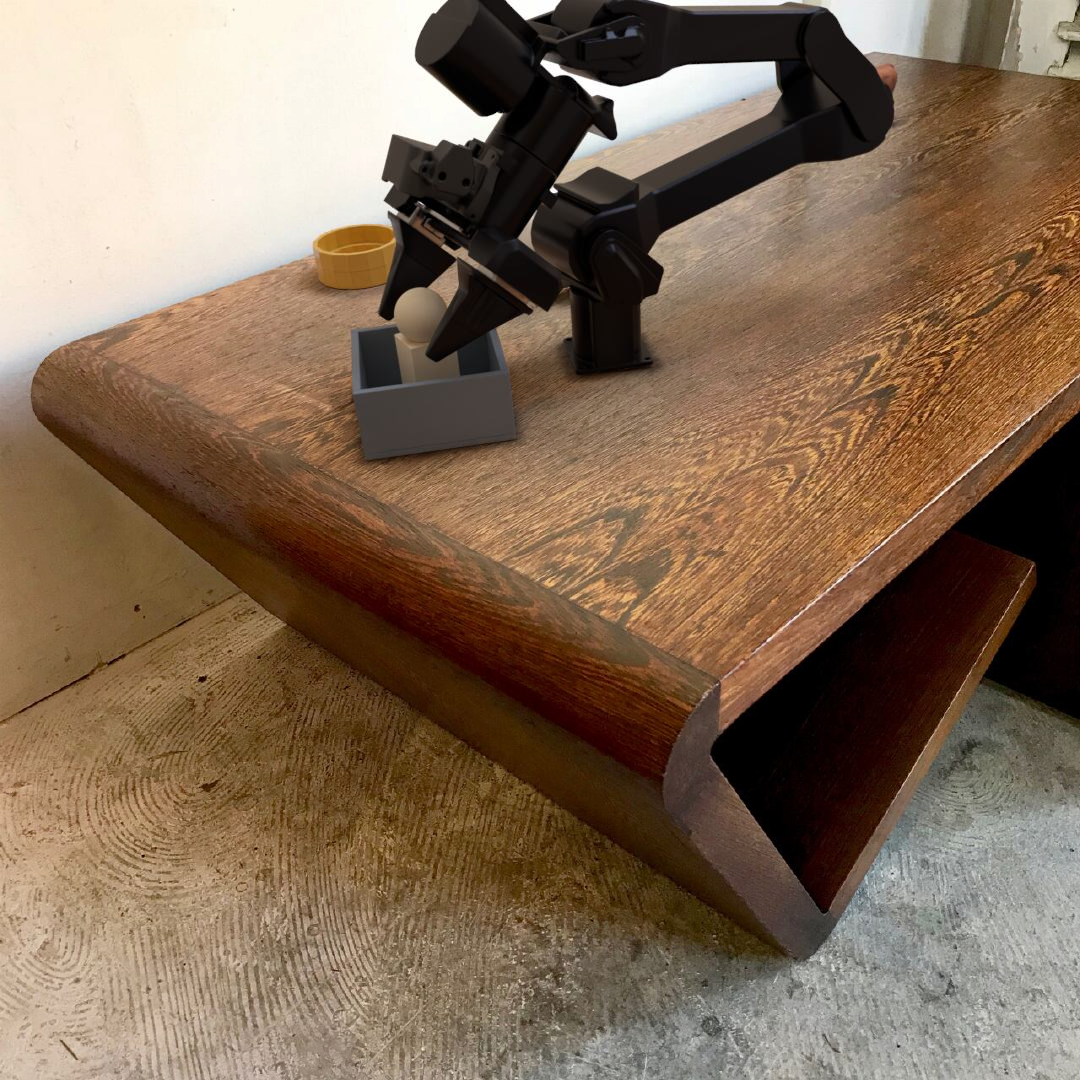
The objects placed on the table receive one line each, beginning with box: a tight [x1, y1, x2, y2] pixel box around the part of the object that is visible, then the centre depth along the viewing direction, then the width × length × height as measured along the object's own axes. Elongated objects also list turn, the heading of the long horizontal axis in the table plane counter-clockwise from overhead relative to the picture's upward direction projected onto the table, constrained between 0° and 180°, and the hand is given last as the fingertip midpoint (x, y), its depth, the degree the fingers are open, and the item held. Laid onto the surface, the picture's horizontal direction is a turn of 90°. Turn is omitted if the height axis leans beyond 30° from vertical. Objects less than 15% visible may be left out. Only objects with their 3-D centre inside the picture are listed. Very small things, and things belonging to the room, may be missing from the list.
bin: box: [350, 323, 517, 461], centre depth 81 cm, size 11×11×6 cm
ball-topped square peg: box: [393, 287, 460, 384], centre depth 79 cm, size 4×4×10 cm
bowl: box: [312, 223, 396, 290], centre depth 106 cm, size 9×9×4 cm
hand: (405, 337), depth 78 cm, fingers open, 9 cm apart
